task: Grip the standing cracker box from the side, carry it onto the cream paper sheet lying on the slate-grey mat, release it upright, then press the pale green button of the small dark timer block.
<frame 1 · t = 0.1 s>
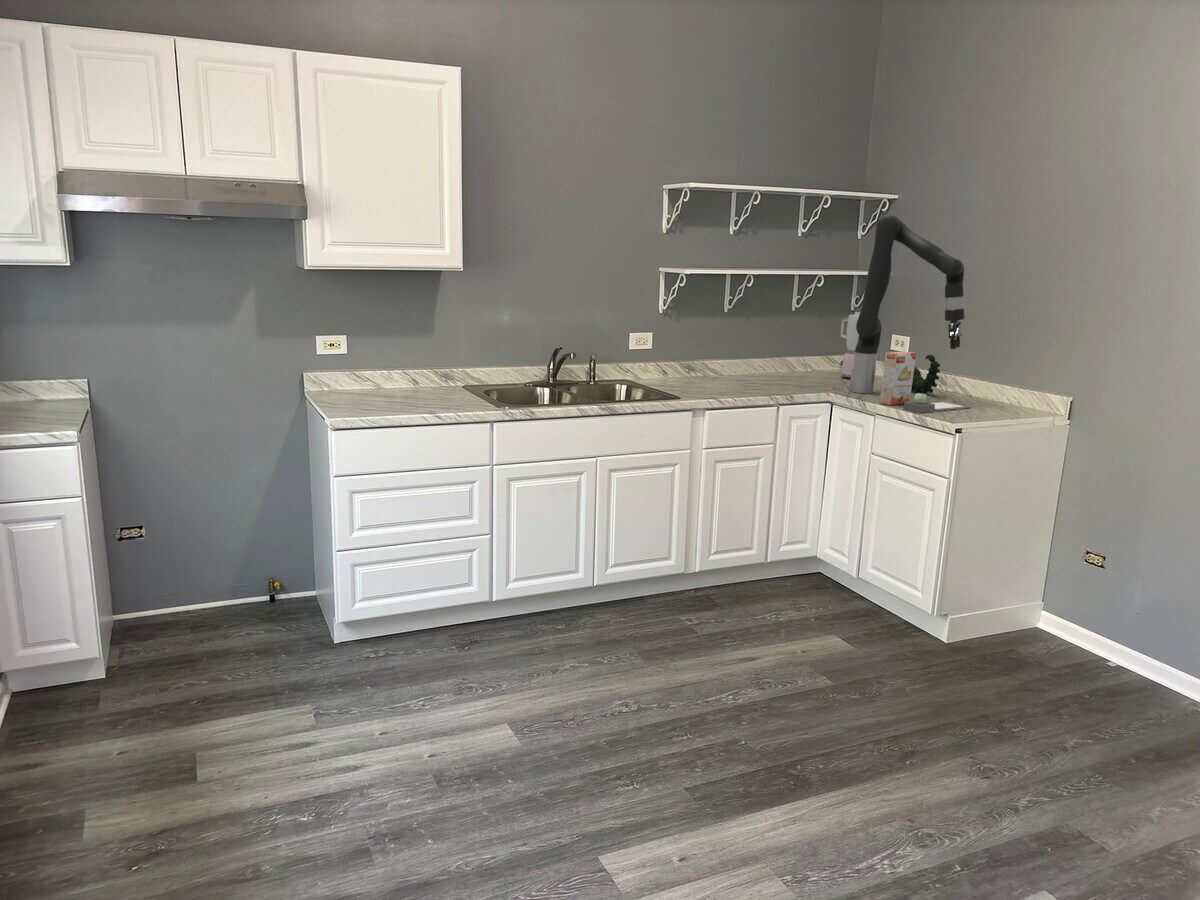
hand: (955, 348, 357), 22 cm above the counter, tool pointing down, fingers open, 8 cm apart
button: (920, 399, 335), point 5 cm above the counter, slide at 0.0 cm
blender: (850, 378, 424), on the counter
timer housing: (918, 410, 336), on the counter
toy figurine: (915, 392, 386), on the counter
mat: (939, 407, 347), on the counter
cracker box: (894, 403, 352), on the counter
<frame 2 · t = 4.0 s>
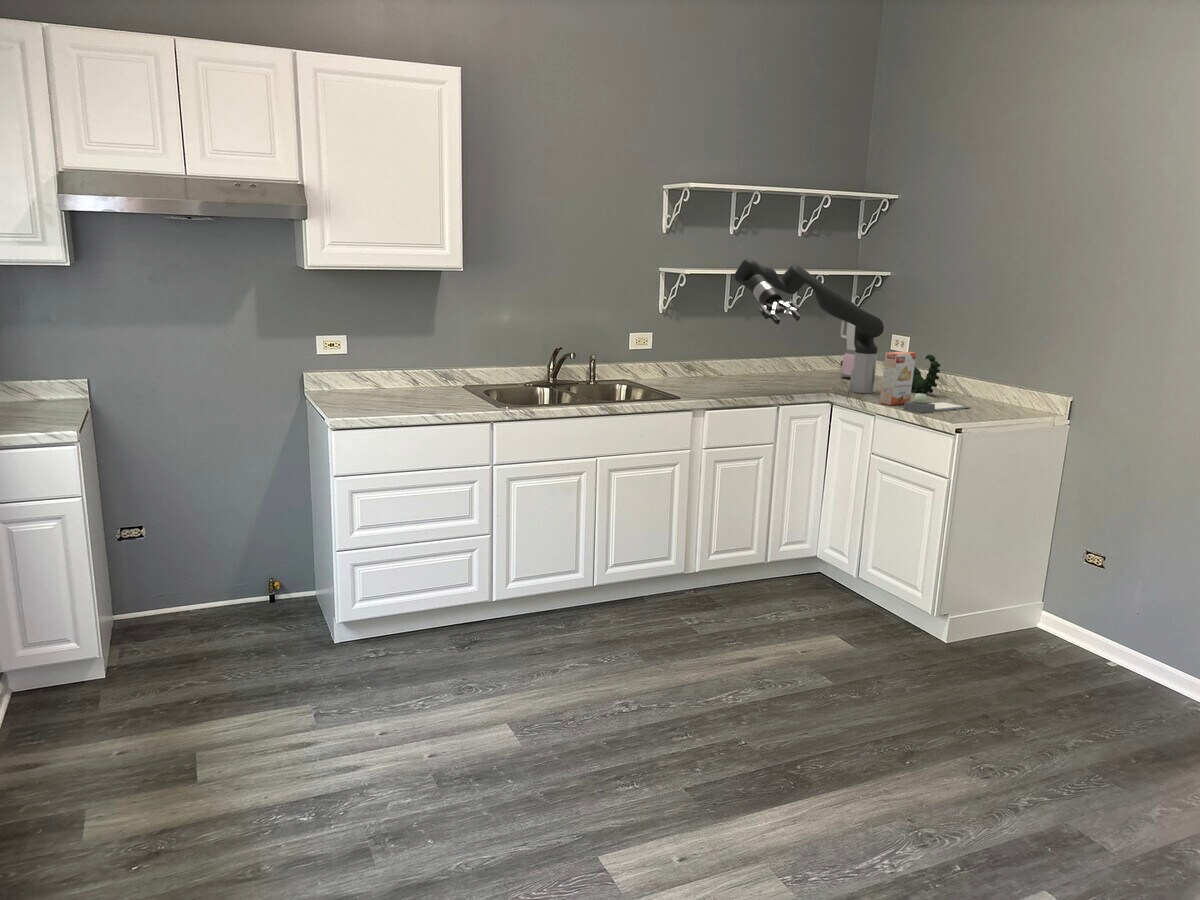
hand: (788, 320, 318), 34 cm above the counter, tool tilted 60°, fingers open, 8 cm apart
nothing on the counter moved.
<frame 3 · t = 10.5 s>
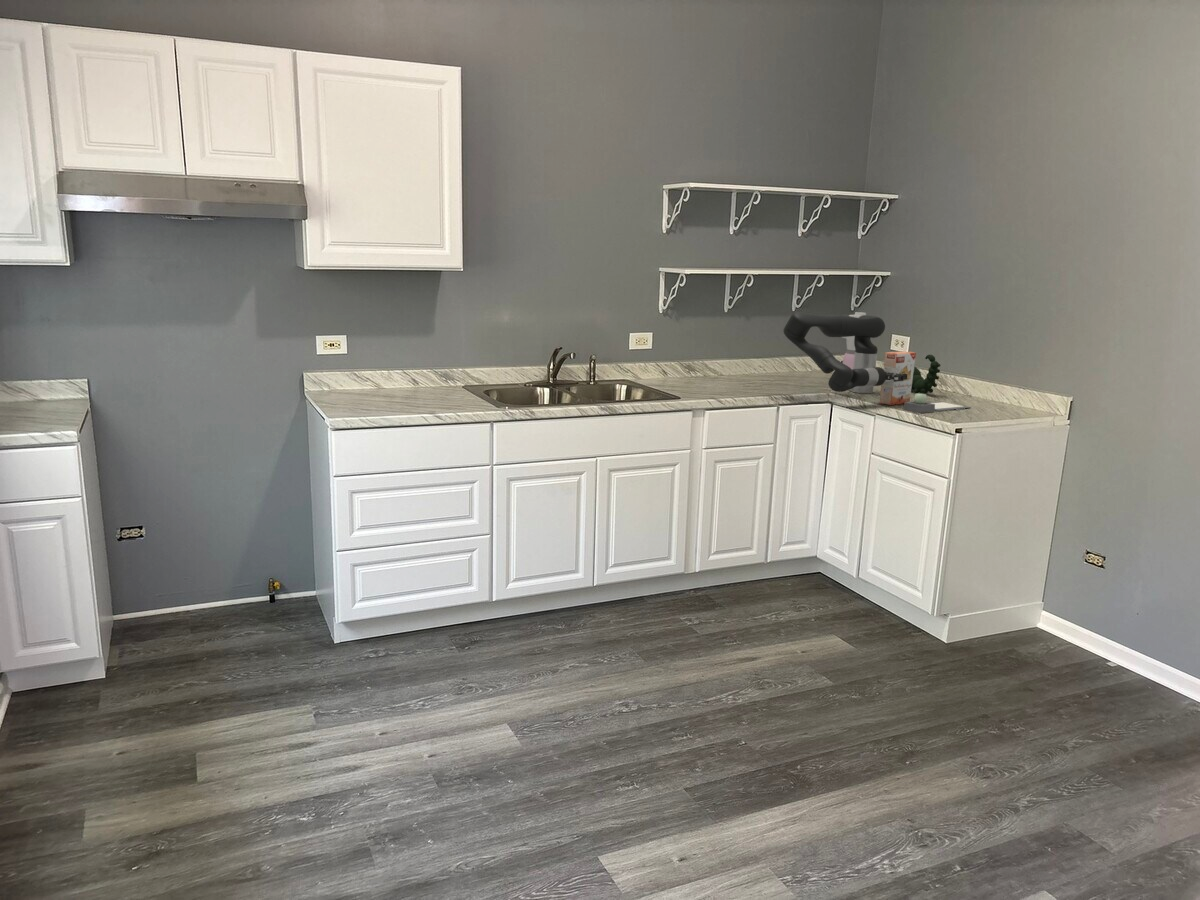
hand: (899, 375, 350), 12 cm above the counter, tool horizontal, fingers closed on cracker box, 6 cm apart
cracker box: (894, 403, 352), on the counter, touching gripper
everything else where it was.
when the fingers open (13 cm above the counter, at t = 16.5 s): cracker box stays where it is, resting on mat.
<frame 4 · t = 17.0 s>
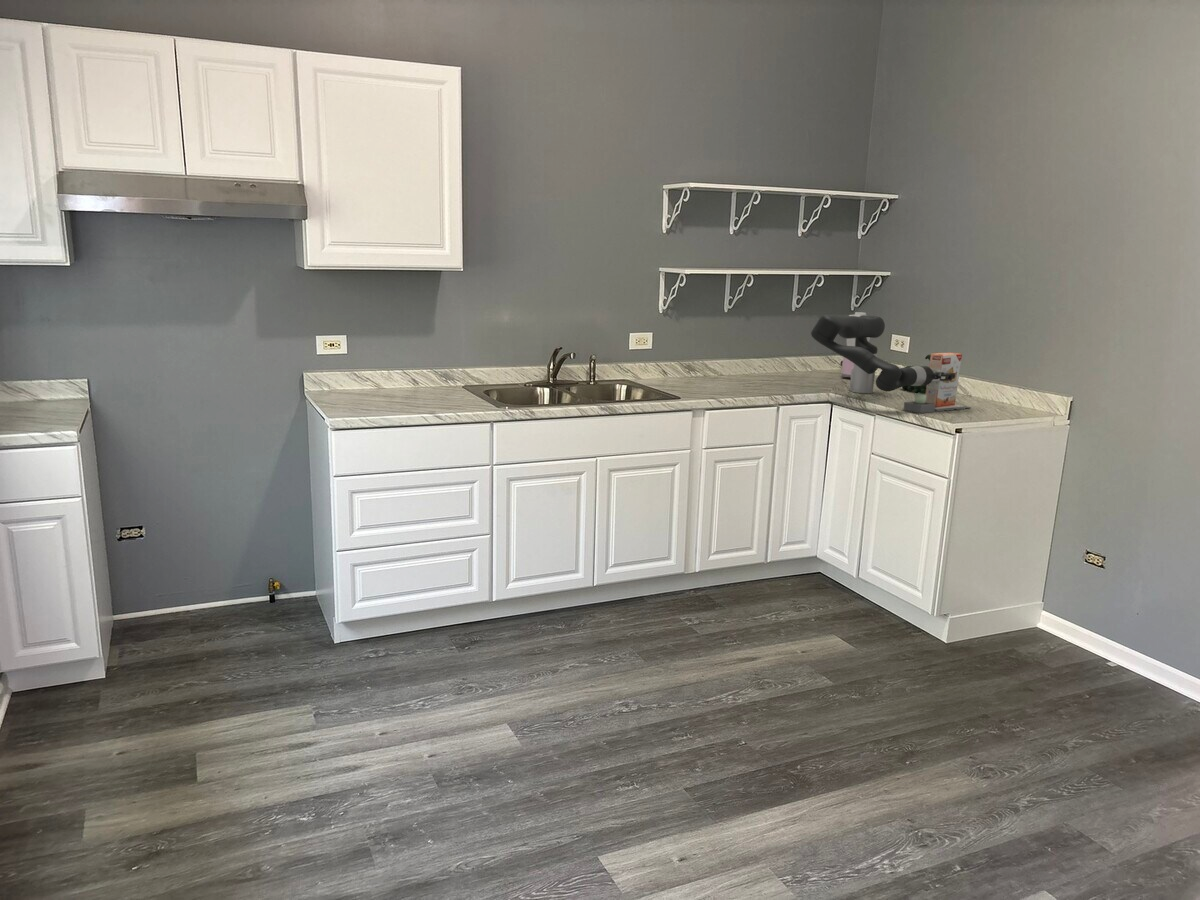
hand: (945, 374, 344), 13 cm above the counter, tool horizontal, fingers open, 8 cm apart
cracker box: (939, 405, 347), resting on mat
everything else where it was.
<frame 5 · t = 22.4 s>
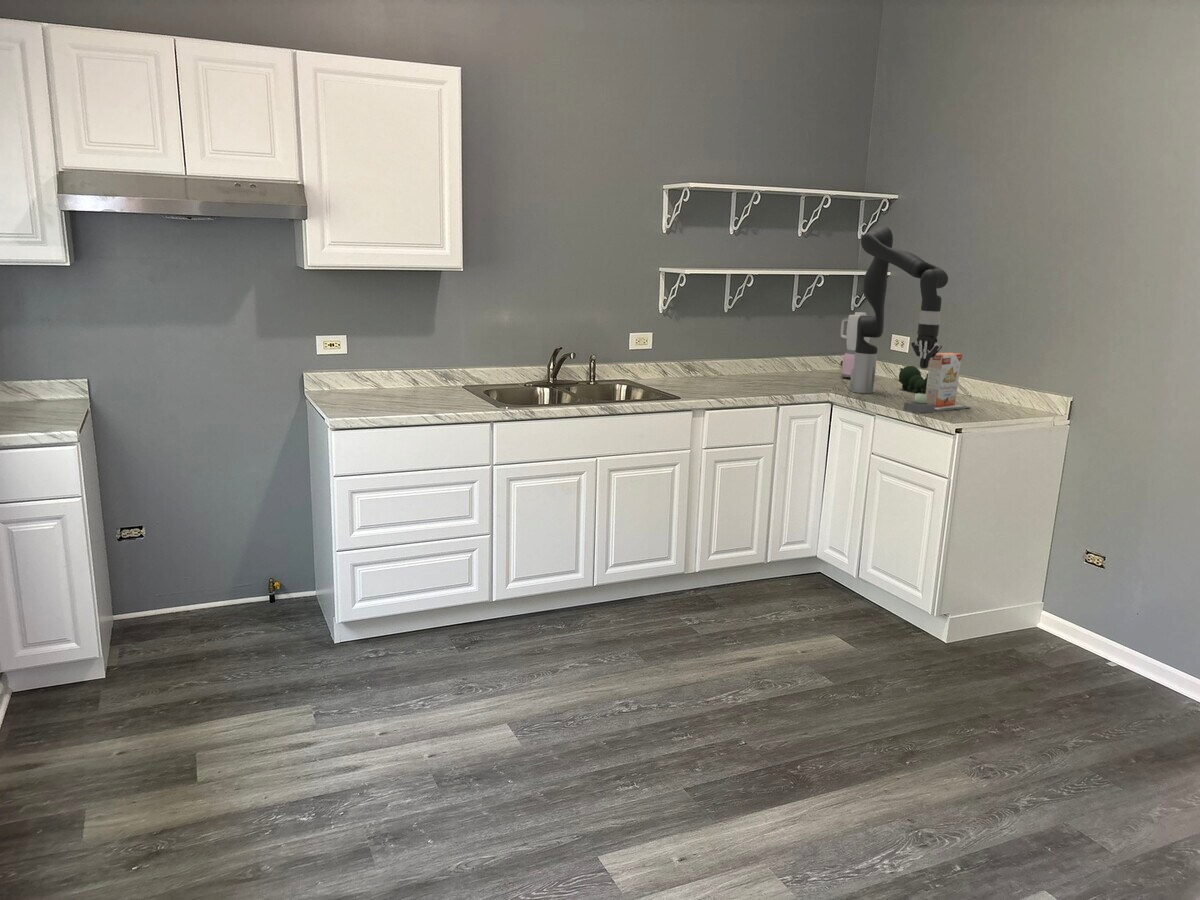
hand: (923, 368, 333), 17 cm above the counter, tool pointing down, fingers closed
nothing on the counter moved.
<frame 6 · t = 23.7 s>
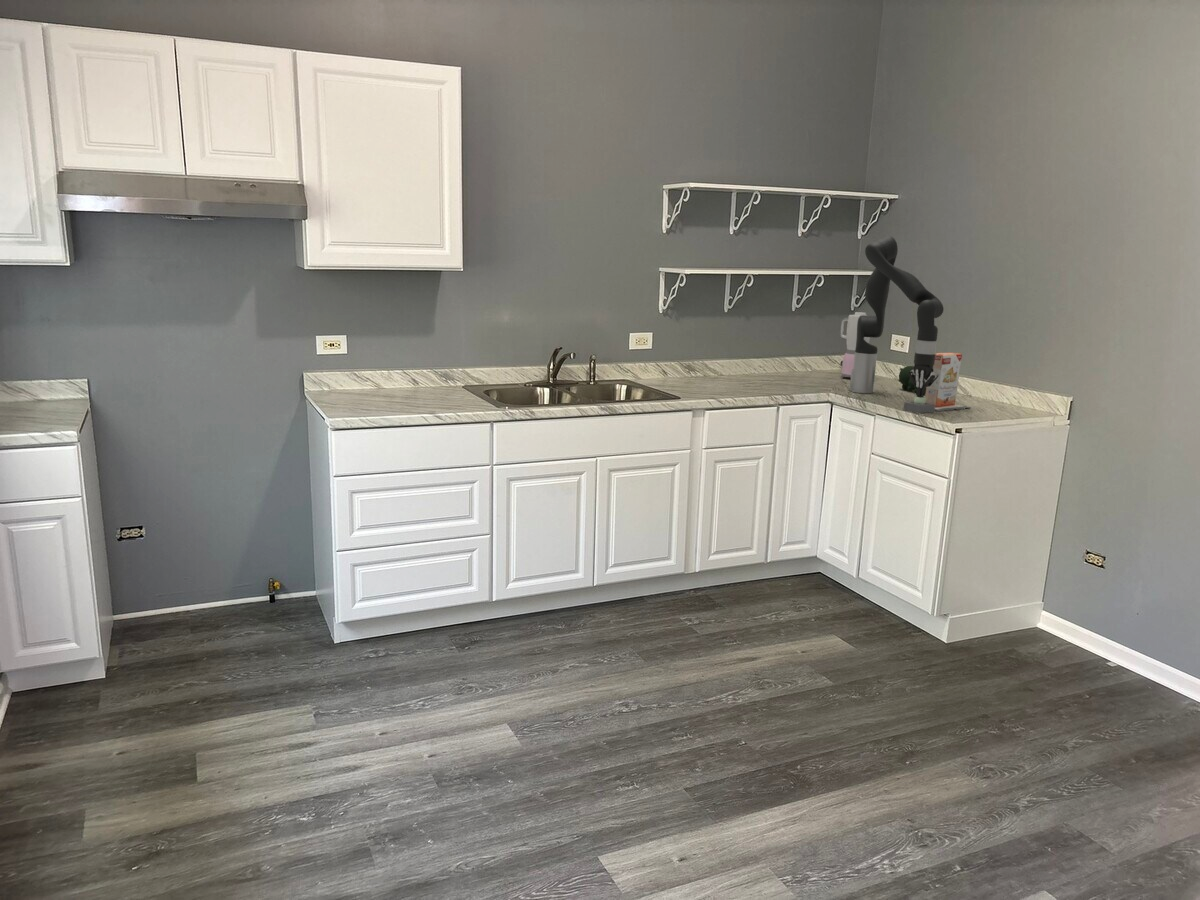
hand: (919, 397, 335), 5 cm above the counter, tool pointing down, fingers closed
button: (919, 402, 336), point 3 cm above the counter, slide at 1.1 cm, touching gripper
everything else where it was.
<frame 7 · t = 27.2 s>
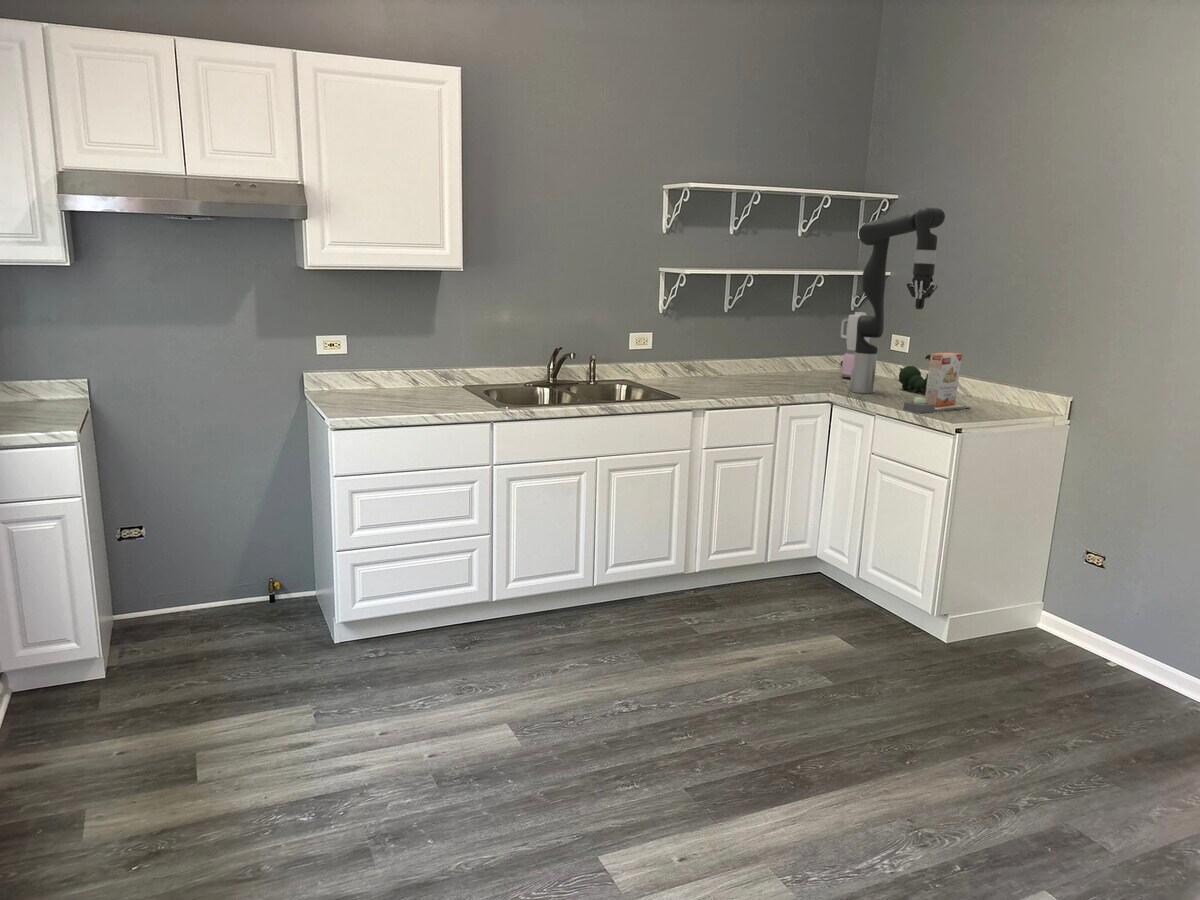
hand: (919, 309, 329), 39 cm above the counter, tool pointing down, fingers closed
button: (919, 403, 336), point 3 cm above the counter, slide at 1.5 cm
everything else where it was.
at the end: cracker box inside the target area on the mat (0.4 cm from its centre), point 0.5 cm above the mat's base; cracker box tilted 0°; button slide at 1.5 cm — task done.
